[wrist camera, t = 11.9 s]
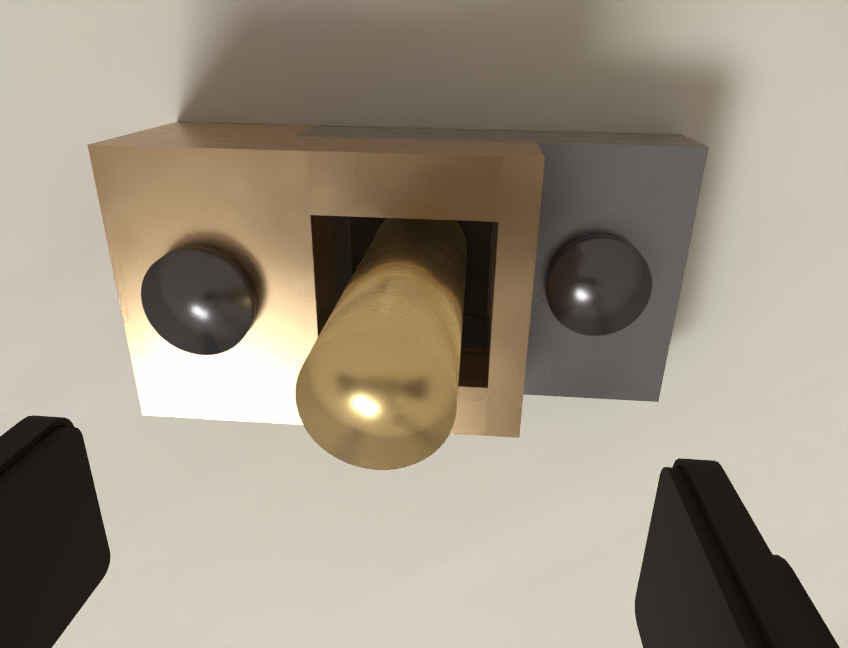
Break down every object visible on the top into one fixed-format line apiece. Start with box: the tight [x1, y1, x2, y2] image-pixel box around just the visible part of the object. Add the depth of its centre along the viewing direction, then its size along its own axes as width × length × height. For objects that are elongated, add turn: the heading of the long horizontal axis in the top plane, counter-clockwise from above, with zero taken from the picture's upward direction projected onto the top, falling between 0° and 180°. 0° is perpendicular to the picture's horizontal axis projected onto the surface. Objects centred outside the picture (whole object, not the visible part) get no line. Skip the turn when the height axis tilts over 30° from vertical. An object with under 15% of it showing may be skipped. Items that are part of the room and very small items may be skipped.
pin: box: [295, 218, 467, 470], centre depth 17 cm, size 3×3×10 cm
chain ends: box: [88, 122, 708, 438], centre depth 19 cm, size 16×8×6 cm, turn 89°
